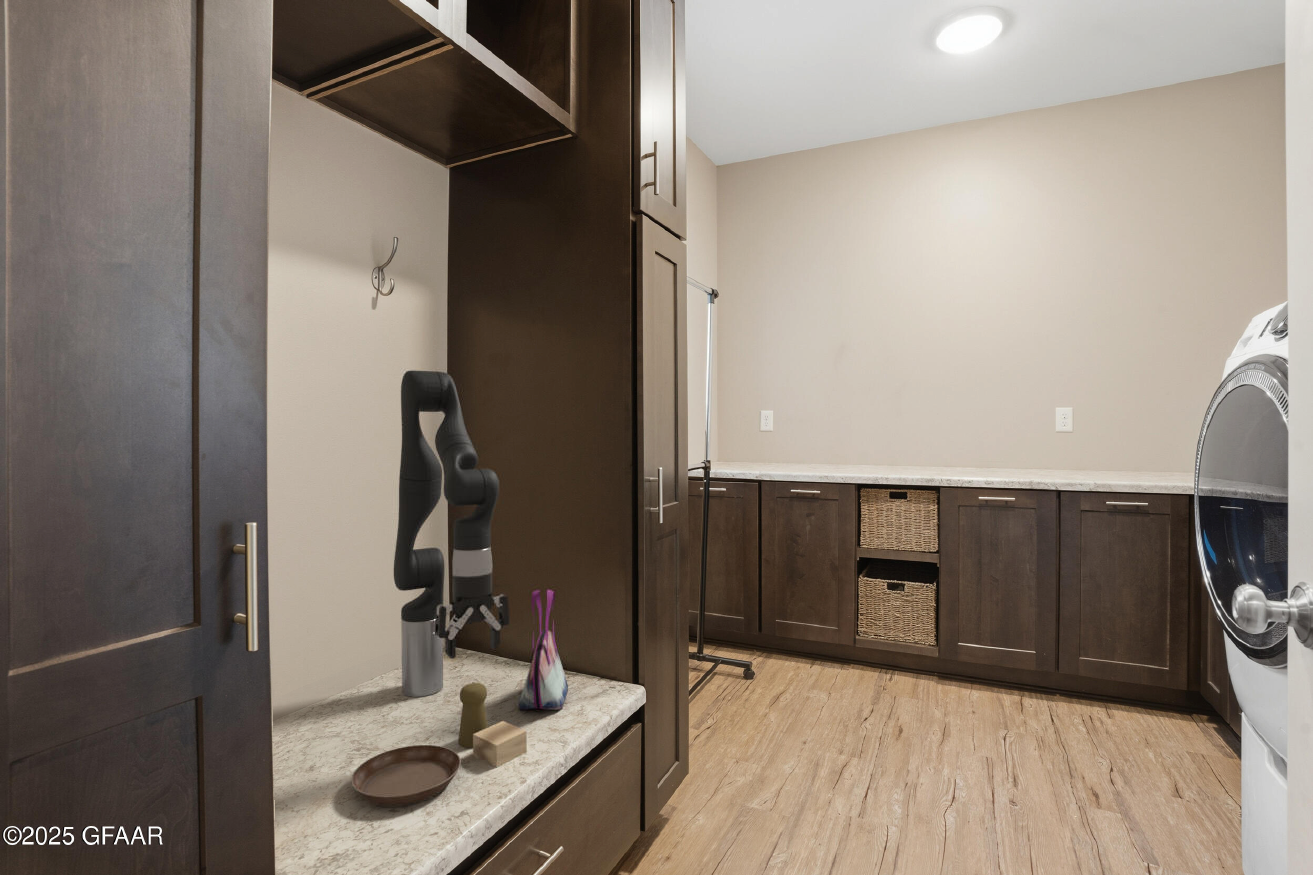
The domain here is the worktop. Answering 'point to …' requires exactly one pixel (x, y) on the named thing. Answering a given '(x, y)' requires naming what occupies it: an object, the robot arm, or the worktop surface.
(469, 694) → the olive green pawn
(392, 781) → the plant saucer
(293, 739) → the worktop surface
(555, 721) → the worktop surface
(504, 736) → the oak base block
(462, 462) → the robot arm
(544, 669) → the handbag
